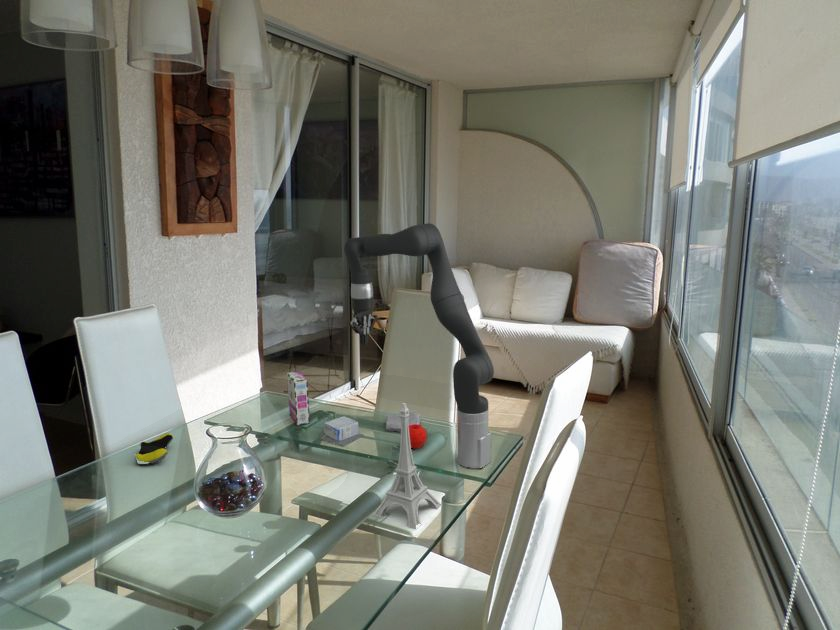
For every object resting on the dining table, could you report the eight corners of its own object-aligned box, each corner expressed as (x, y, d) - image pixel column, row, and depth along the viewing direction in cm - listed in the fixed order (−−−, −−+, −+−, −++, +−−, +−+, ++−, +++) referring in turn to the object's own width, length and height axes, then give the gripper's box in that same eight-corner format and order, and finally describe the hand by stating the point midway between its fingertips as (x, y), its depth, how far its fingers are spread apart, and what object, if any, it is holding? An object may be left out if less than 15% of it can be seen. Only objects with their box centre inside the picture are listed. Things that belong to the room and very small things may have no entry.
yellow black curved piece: (175, 446, 214) (142, 450, 212) (173, 430, 212) (140, 434, 210) (167, 467, 200) (133, 471, 198) (165, 450, 198) (130, 454, 196)
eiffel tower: (372, 516, 169) (367, 407, 162) (399, 493, 180) (396, 391, 173) (416, 530, 163) (412, 417, 156) (442, 505, 174) (440, 399, 167)
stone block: (420, 438, 220) (421, 421, 229) (419, 426, 218) (420, 409, 227) (385, 439, 220) (387, 422, 229) (383, 427, 218) (386, 411, 227)
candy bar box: (311, 423, 229) (307, 379, 225) (296, 426, 227) (293, 381, 223) (302, 412, 239) (299, 370, 235) (289, 415, 237) (285, 372, 233)
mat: (363, 435, 218) (363, 434, 218) (343, 446, 210) (343, 445, 210) (341, 429, 224) (341, 428, 223) (320, 439, 216) (320, 438, 216)
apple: (410, 439, 214) (409, 418, 212) (431, 444, 210) (431, 422, 208) (398, 449, 207) (397, 427, 205) (420, 454, 203) (419, 432, 202)
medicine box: (345, 427, 224) (324, 435, 218) (344, 415, 223) (323, 422, 217) (359, 434, 218) (338, 442, 213) (358, 421, 217) (337, 429, 212)
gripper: (357, 300, 216) (360, 350, 220) (382, 293, 226) (384, 341, 230) (340, 298, 220) (343, 347, 224) (366, 291, 231) (368, 338, 235)
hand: (364, 344), depth 227 cm, fingers closed
